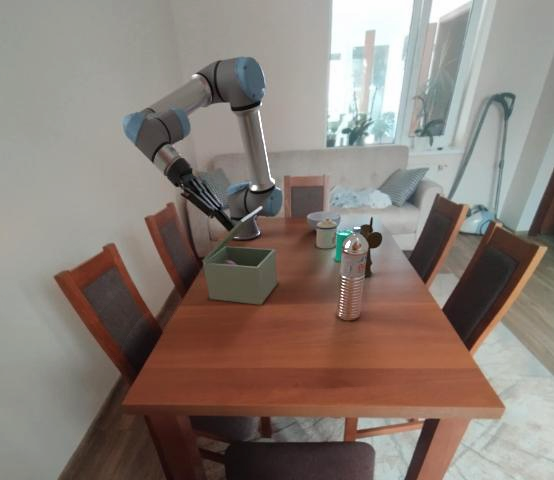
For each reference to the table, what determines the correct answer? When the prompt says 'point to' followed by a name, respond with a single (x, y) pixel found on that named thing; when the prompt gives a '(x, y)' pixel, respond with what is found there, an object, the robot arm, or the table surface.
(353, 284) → the water bottle
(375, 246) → the kendama
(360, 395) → the table surface
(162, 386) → the table surface
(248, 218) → the green box lid
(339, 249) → the candle
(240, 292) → the chest
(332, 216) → the cereal bowl
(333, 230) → the teacup with lid
